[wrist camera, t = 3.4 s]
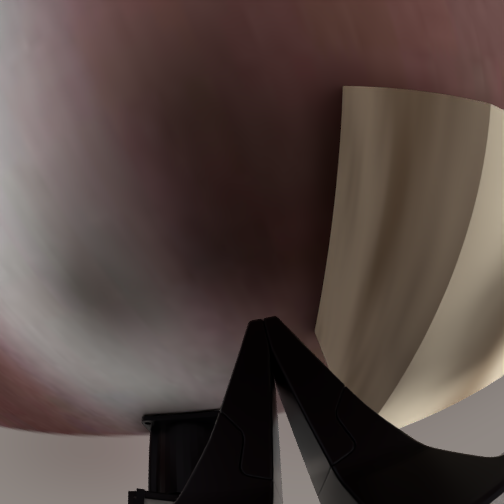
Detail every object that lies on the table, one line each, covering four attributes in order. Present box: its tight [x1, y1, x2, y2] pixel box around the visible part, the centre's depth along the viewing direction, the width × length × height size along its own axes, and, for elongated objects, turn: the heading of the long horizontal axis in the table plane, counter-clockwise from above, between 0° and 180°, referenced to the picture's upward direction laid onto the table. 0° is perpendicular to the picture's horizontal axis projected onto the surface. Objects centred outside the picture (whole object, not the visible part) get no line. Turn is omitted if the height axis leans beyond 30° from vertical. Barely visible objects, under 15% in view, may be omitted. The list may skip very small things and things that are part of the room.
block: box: [314, 86, 504, 429], centre depth 10 cm, size 10×12×7 cm
